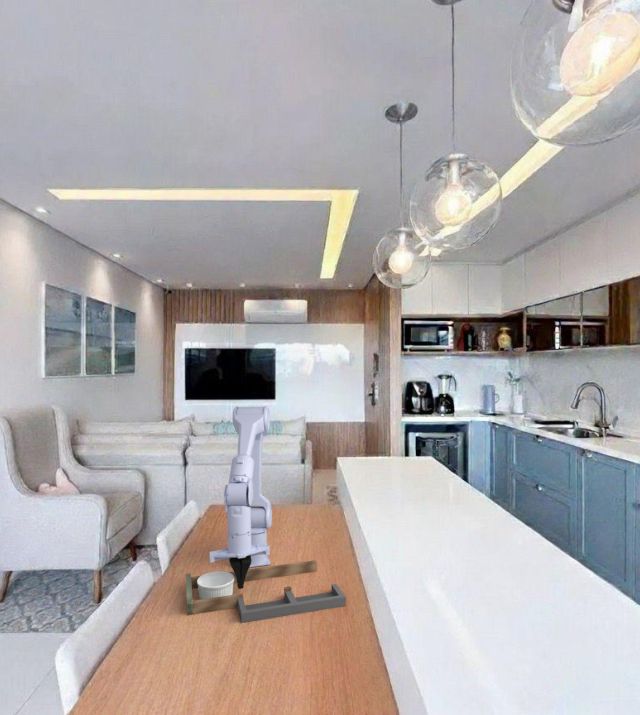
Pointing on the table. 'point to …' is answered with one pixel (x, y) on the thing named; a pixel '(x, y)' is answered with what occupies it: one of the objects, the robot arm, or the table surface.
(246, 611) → the grey e-shaped block
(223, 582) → the ramekin
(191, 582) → the walnut channel
